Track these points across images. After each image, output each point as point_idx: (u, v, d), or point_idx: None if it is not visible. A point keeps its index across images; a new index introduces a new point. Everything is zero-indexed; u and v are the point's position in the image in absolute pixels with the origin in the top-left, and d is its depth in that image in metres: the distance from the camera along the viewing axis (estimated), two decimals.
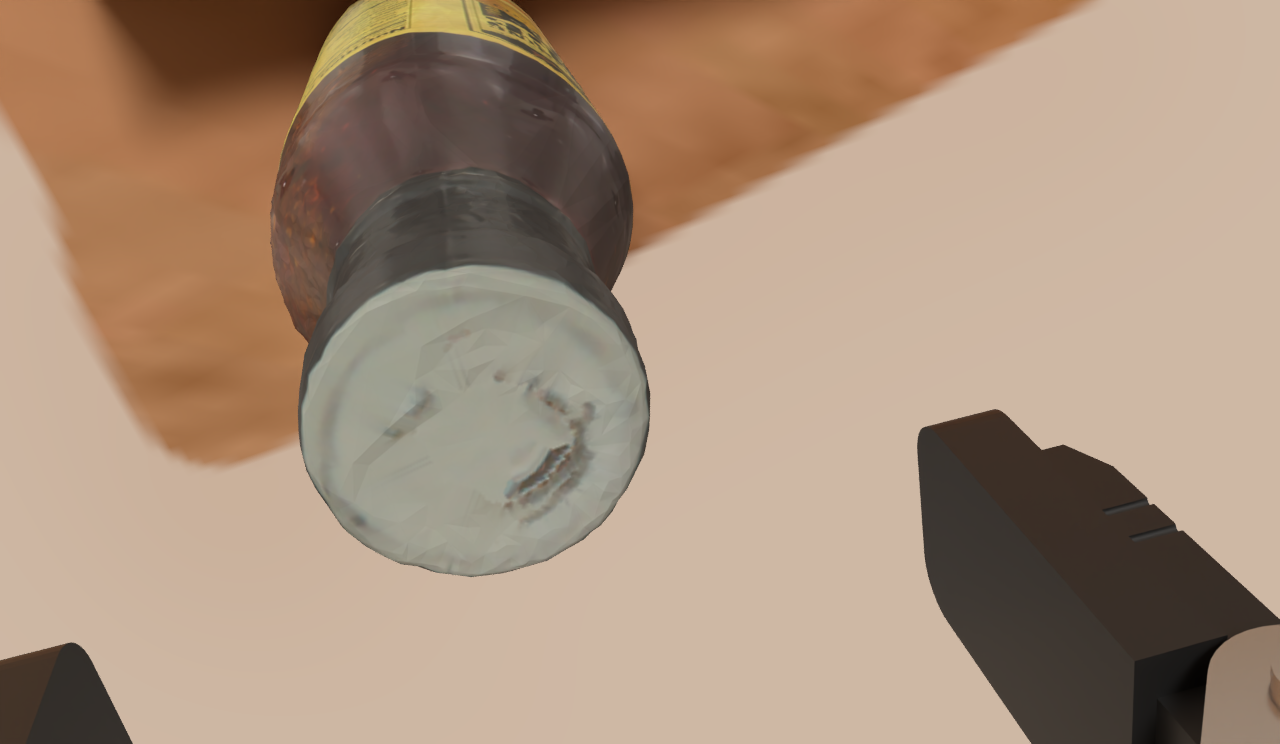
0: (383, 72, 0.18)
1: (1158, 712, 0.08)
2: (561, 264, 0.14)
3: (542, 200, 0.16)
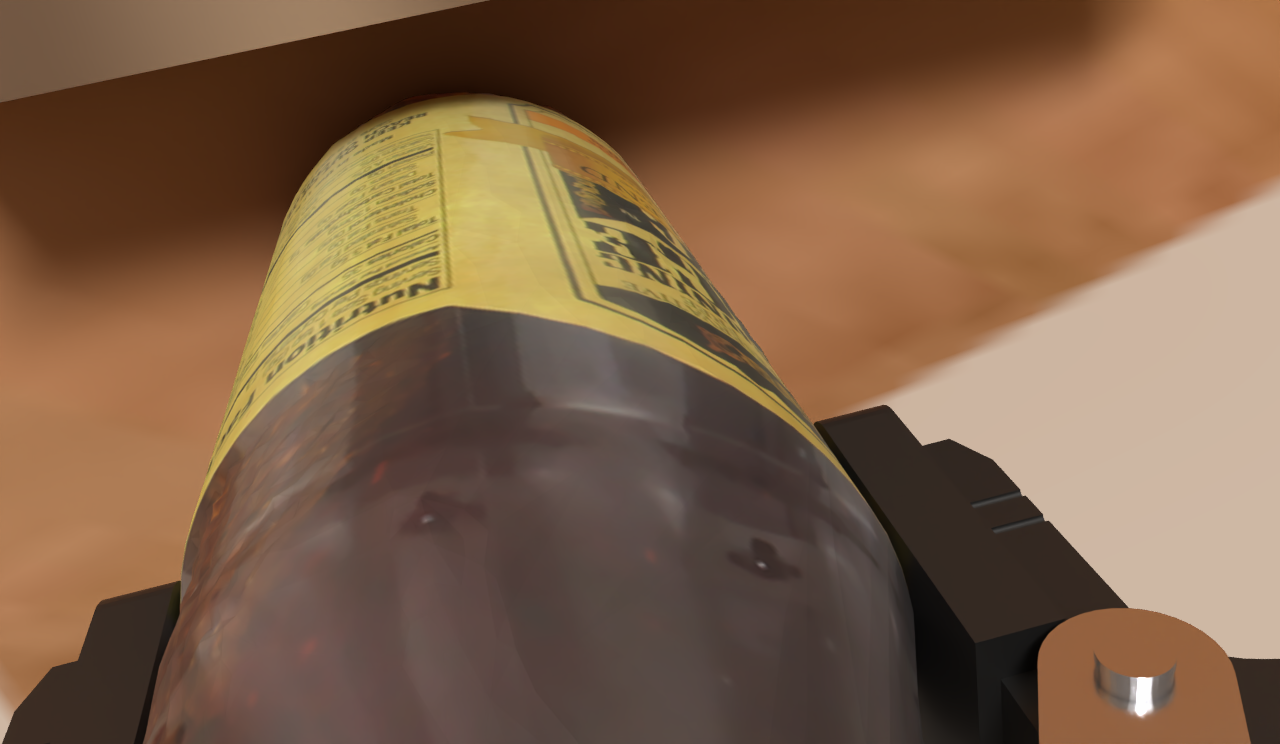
0: (403, 497, 0.07)
1: (1001, 693, 0.09)
2: None
3: None
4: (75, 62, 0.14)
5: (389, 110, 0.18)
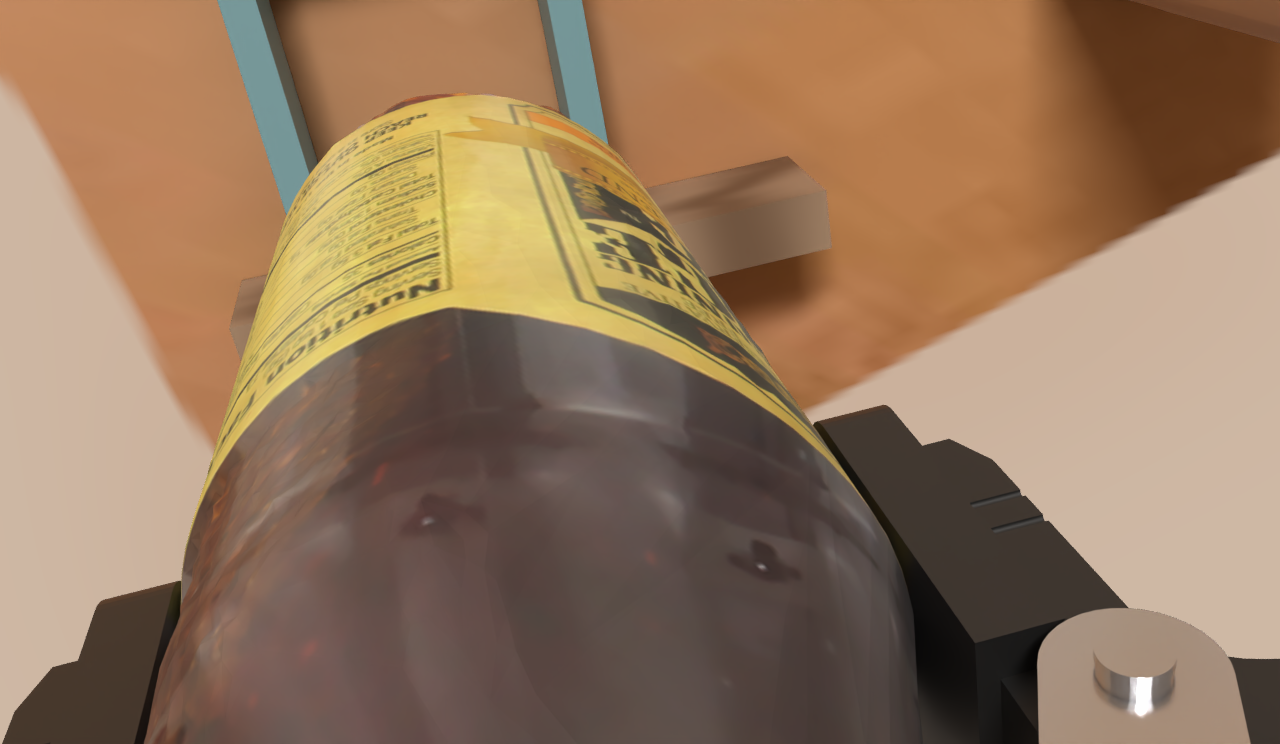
0: (403, 500, 0.07)
1: (1001, 692, 0.09)
2: None
3: None
4: None
5: (390, 111, 0.18)
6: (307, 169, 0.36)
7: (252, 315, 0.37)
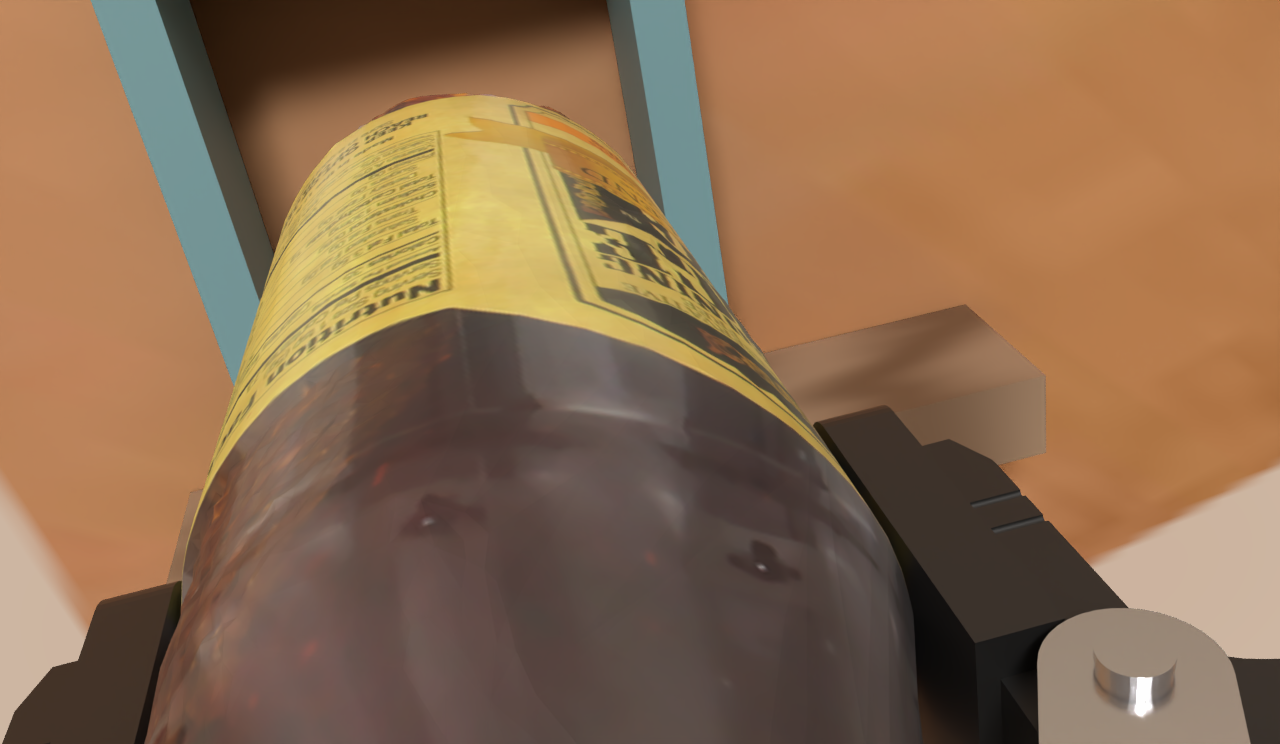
0: (404, 500, 0.07)
1: (1001, 692, 0.09)
2: None
3: None
4: None
5: (390, 111, 0.18)
6: None
7: None
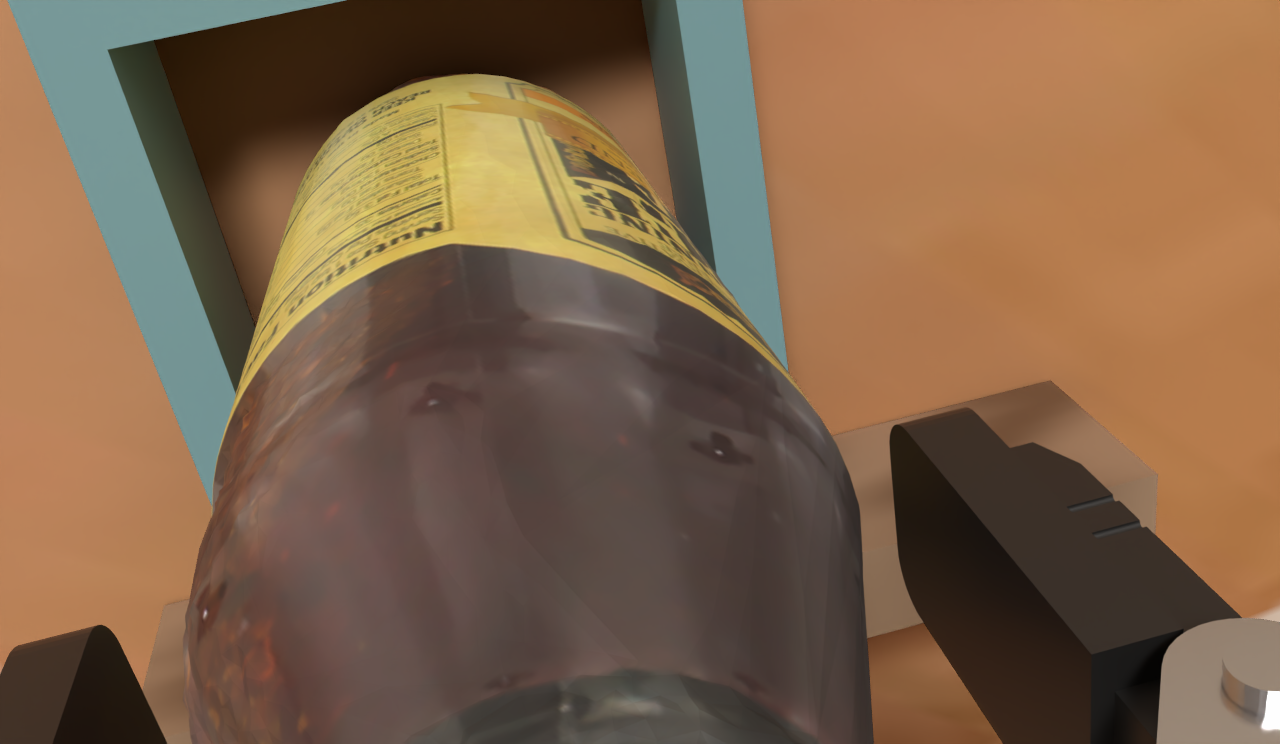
0: (412, 387, 0.09)
1: (1115, 705, 0.08)
2: None
3: None
4: None
5: (395, 89, 0.19)
6: None
7: (171, 712, 0.21)
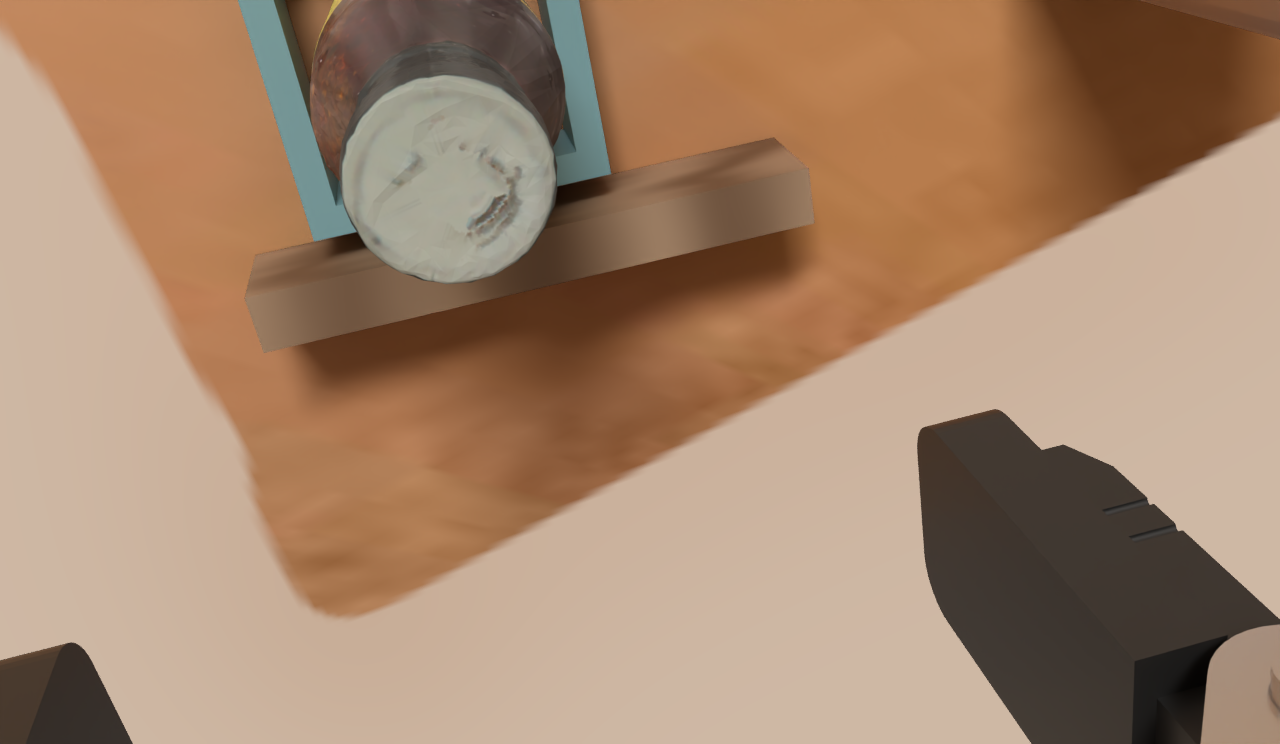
0: None
1: (1158, 713, 0.08)
2: (500, 80, 0.22)
3: (495, 62, 0.25)
4: (371, 319, 0.39)
5: None
6: (318, 147, 0.38)
7: (266, 286, 0.39)
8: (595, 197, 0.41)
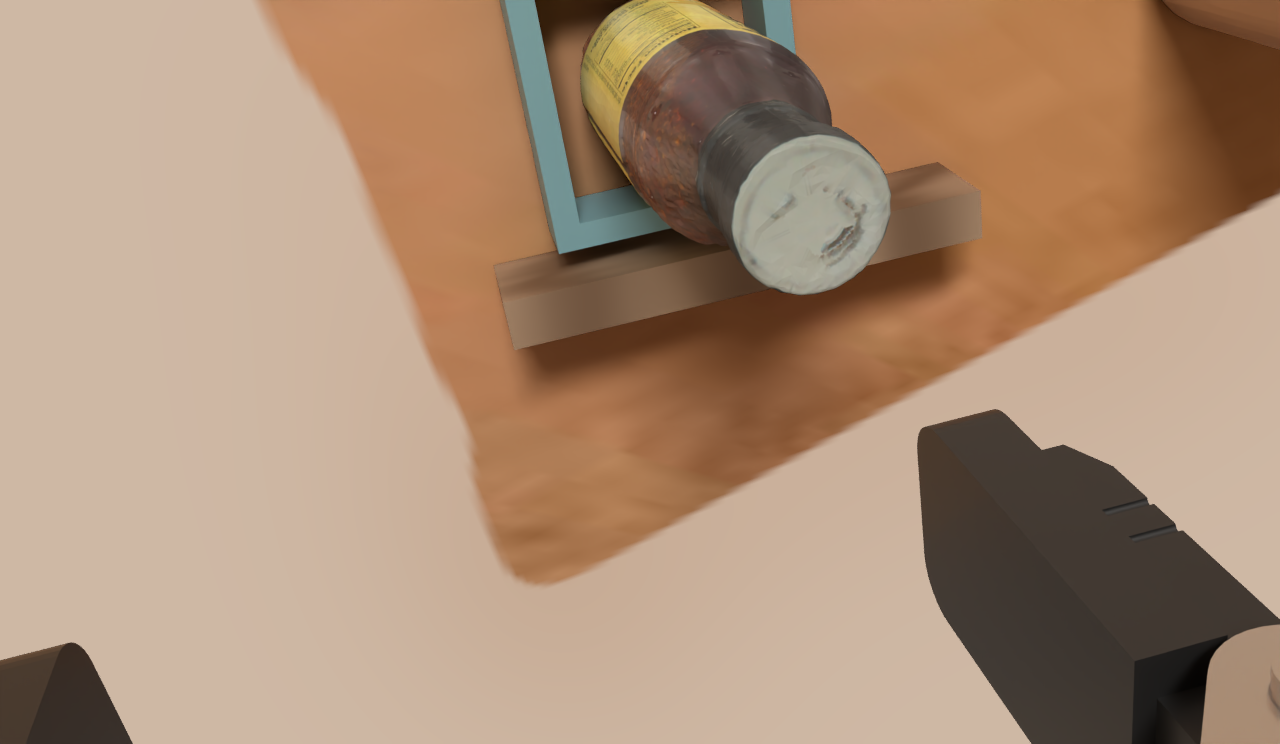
0: (712, 50, 0.33)
1: (1158, 712, 0.08)
2: (851, 137, 0.28)
3: (813, 116, 0.31)
4: (605, 321, 0.46)
5: (630, 1, 0.44)
6: (569, 174, 0.44)
7: (518, 292, 0.45)
8: None
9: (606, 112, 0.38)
